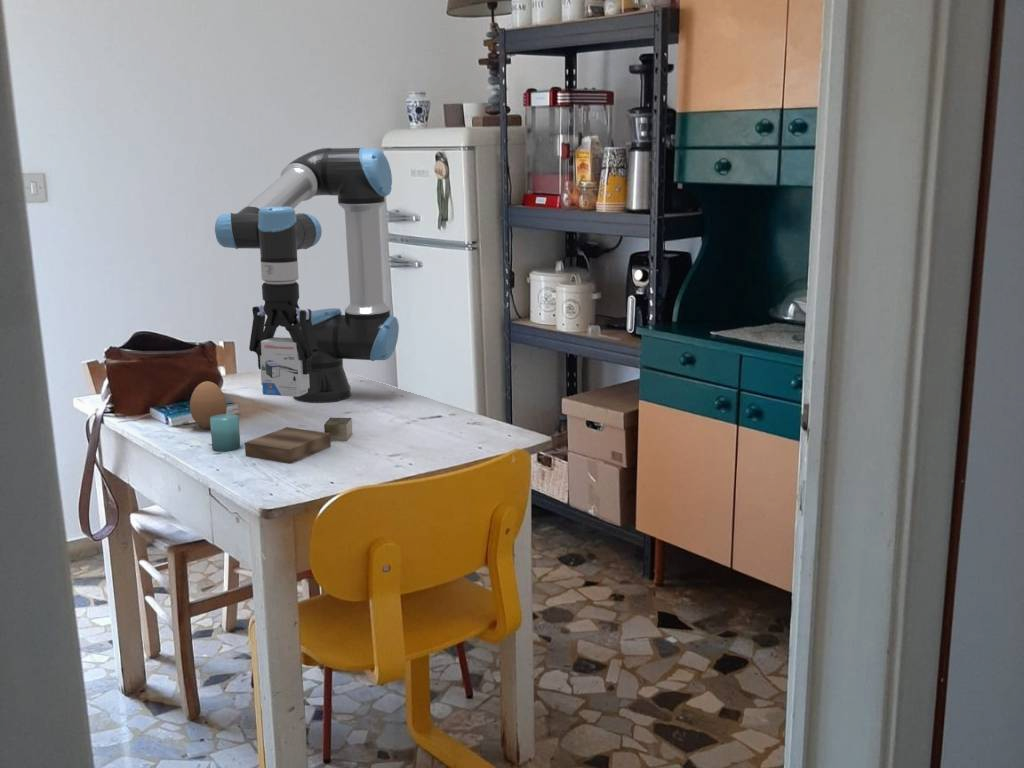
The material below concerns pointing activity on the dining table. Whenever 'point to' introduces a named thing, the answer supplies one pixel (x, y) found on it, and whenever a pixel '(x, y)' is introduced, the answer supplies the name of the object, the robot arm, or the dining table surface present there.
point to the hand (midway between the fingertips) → (285, 386)
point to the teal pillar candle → (225, 432)
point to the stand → (288, 445)
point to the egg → (207, 403)
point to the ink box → (280, 367)
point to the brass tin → (339, 428)
